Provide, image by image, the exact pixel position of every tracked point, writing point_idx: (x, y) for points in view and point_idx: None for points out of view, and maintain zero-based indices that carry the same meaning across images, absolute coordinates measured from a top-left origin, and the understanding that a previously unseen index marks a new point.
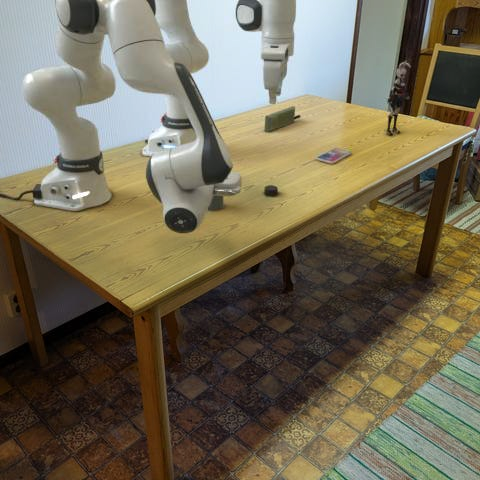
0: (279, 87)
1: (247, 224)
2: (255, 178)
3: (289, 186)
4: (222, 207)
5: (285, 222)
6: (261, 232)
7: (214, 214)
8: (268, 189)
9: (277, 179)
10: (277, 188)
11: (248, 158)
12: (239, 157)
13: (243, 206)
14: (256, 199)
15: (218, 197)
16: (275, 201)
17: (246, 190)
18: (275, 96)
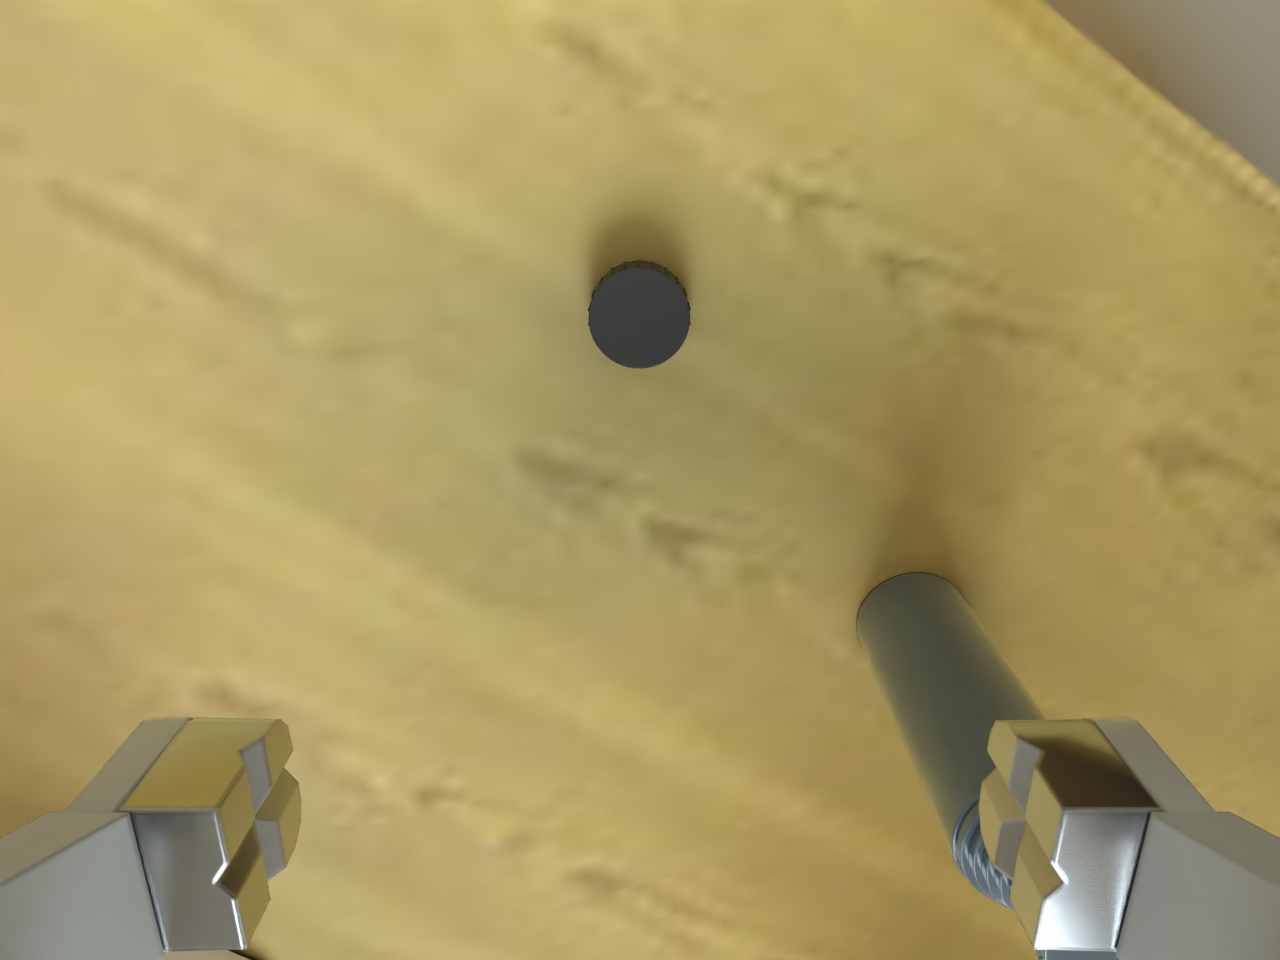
0: (91, 884)
1: (1147, 382)
2: (388, 466)
3: (460, 185)
4: (933, 576)
5: (1106, 131)
6: (1259, 275)
7: (1021, 597)
8: (676, 334)
9: (351, 301)
10: (640, 268)
11: (14, 585)
12: (27, 648)
13: (884, 456)
14: (758, 394)
15: (987, 633)
16: (767, 255)
17: (622, 486)
18: (1276, 844)
